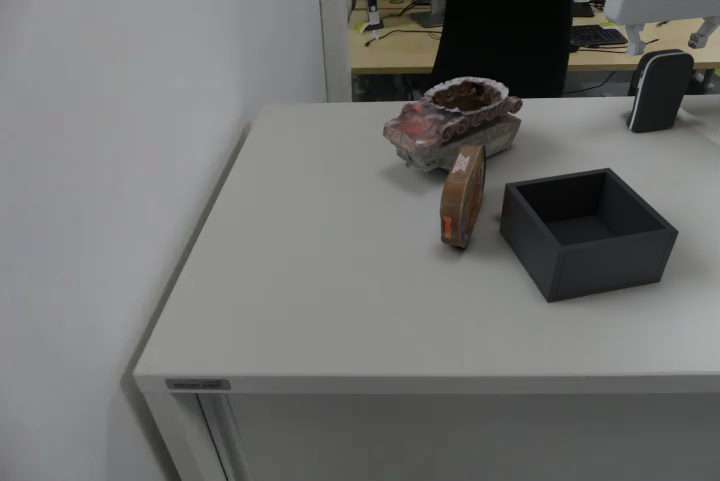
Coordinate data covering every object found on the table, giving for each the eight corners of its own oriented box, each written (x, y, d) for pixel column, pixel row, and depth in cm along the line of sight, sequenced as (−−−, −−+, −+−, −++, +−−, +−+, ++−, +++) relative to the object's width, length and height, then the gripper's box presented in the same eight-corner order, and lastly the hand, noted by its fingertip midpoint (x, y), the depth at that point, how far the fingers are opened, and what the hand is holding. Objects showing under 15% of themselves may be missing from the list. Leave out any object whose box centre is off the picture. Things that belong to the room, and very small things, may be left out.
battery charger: (660, 117, 87) (683, 44, 80) (675, 128, 84) (700, 53, 77) (618, 122, 86) (637, 49, 79) (631, 134, 83) (652, 58, 76)
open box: (596, 213, 68) (609, 167, 64) (660, 281, 59) (679, 231, 55) (499, 230, 67) (505, 183, 63) (547, 302, 57) (558, 252, 53)
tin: (461, 262, 62) (466, 200, 57) (433, 257, 63) (436, 195, 58) (486, 191, 73) (492, 133, 68) (462, 187, 74) (466, 130, 69)
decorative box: (544, 163, 78) (556, 97, 72) (427, 210, 71) (429, 141, 65) (482, 127, 87) (488, 67, 81) (373, 165, 80) (370, 102, 74)
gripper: (637, -49, 66) (608, 66, 74) (790, -61, 68) (745, 51, 77) (608, -59, 71) (584, 50, 79) (752, -71, 73) (714, 36, 82)
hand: (665, 50), depth 78 cm, fingers open, 8 cm apart
